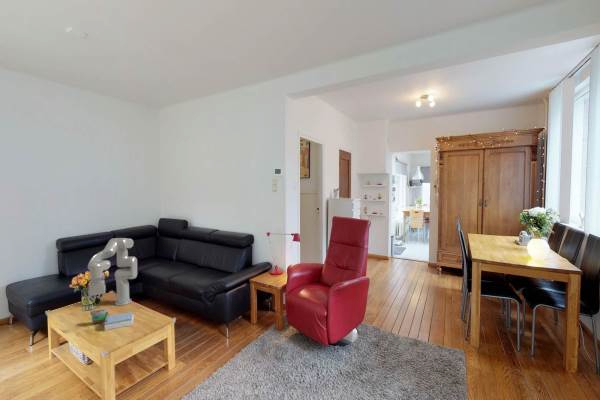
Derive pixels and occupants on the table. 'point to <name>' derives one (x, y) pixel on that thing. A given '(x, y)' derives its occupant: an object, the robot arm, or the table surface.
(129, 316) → the lid
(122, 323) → the white rectangular tray
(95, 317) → the food container
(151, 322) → the table surface
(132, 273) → the robot arm
